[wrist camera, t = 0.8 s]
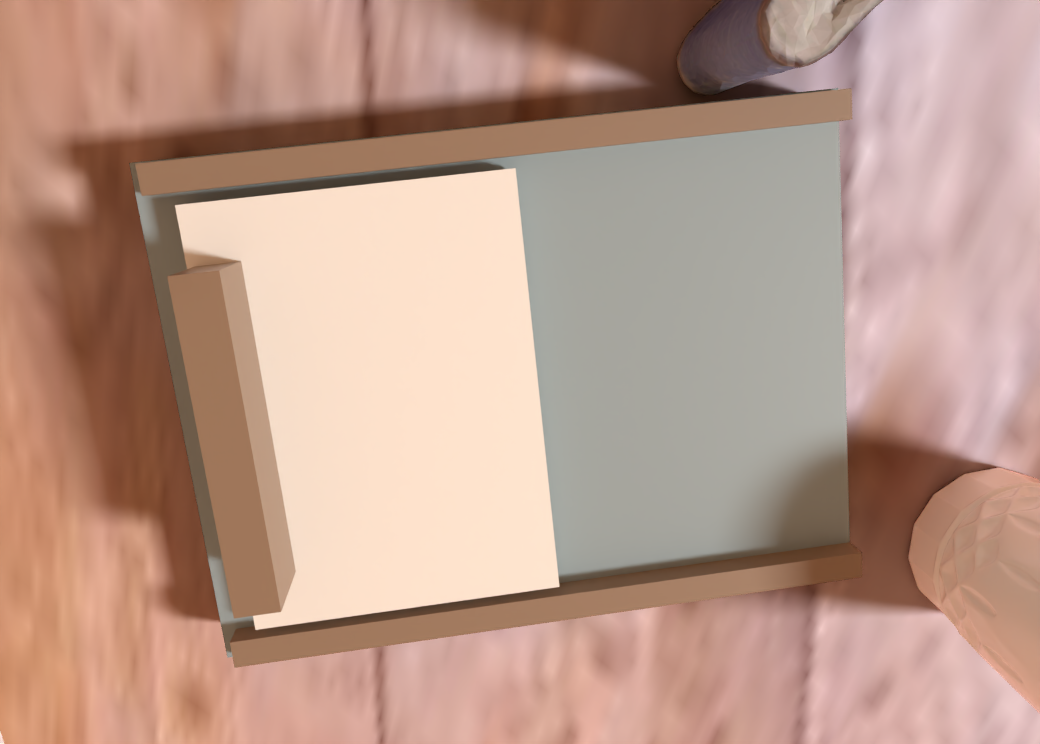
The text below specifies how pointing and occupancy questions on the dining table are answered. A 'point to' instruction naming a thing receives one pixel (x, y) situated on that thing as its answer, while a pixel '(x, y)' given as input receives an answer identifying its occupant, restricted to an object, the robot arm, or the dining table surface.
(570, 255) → the sliding lid box
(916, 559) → the white cup
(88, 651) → the dining table surface
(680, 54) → the blue-grey curved piece
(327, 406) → the slide cover
